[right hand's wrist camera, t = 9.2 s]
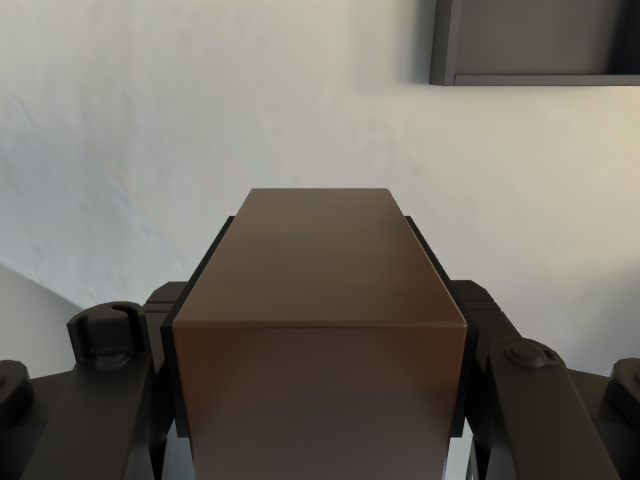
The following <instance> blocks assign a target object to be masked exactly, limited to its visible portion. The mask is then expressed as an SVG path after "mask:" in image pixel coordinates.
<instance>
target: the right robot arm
mask: <svg viewBox="0 0 640 480" xmlns="http://www.w3.org/2000/svg"><path fill="white" fill-rule="evenodd" d="M404 217H405V218H406V220H407V222H408V223H409V225H410V227H411V229H412V230H413V232H414V234H415V235H416V237H417V239H418V240H419V242H420V244H421V246H422V247H423V249H424V251H425V252H426V254H427V256H428V257H429V259H430V261H431V263H432V264H433V266H434V268H435V269H436V271H437V273H438V274H439V276H440V278H441V280H442V281H443V283H444V285H445V286H446V288H447V290H448V291H449V293H450V295H451V297H452V298H453V300H454V302H455V303H456V305H457V307H458V308H459V310H460V312H461V314H462V315H463V317H464V319H465V320H466V322H467V325H468V326H467V332H466V339H465V345H464V352H463V359H462V365H461V372H460V378H459V385H458V391H457V398H456V405H455V411H454V418H453V424H452V431H451V438H462V434H463V428H464V422H465V416H466V419H467V421H468V423H469V426H470V428H471V431H472V433H473V439H472V444H471V450H470V455H469V461H468V467H467V472H466V479H465V480H471V479H472V474H473V480H640V359H639V358H627V359H621V360H619V361H618V362H617V363H615V364H614V366H613V369H612V372H611V375H610V377H605V376H600V375H595V374H590V373H585V372H580V371H576V370H572V369H568V368H567V367H566V365H565V363H564V361H563V360H562V359H561V358H560V356H559V355H558V354H557V353H556V352H555V351H553V350H552V349H550V348H549V347H547V346H546V345H544V344H541V343H539V342H536V341H534V340H531V339H526V338H522V336H521V335H520V334H519V332H518V331H517V330H516V328H515V327H514V326H513V324H512V323H511V322H510V321H509V319H508V318H507V317H506V315H505V314H504V313H503V311H501V309H500V307H499V306H498V305H497V304H496V302H494V300H493V298H492V297H491V296H490V294H489V293H488V292H487V290H486V289H484V288H483V287H481V286H479V285H478V284H476V283H475V282H473V281H471V280H450V279H449V277H448V275H447V274H446V272H445V271H444V269H443V267H442V266H441V264H440V263H439V261H438V259H437V258H436V256H435V255H434V253H433V252H432V250H431V248H430V247H429V245H428V244H427V242H426V240H425V239H424V237H423V236H422V234H421V232H420V231H419V229H418V228H417V226H416V225H415V223H414V221H413V220H412V218H411V217H410V216H404ZM234 218H235V216H229V218H228V219H227V221H226V222H225V224H224V226H223V227H222V229H221V230H220V232H219V234H218V235H217V237H216V238H215V240H214V242H213V243H212V245H211V246H210V248H209V249H208V251H207V253H206V254H205V256H204V257H203V259H202V261H201V262H200V264H199V265H198V267H197V269H196V270H195V272H194V273H193V275H192V276H191V278H190V280H189V281H188V282H167V283H166V284H164V285H163V286H161V287H160V288H158V289H156V290H155V291H154V292H153V293H152V294H151V296H150V297H149V298H148V300H147V301H146V304H144V305H143V306H140V305H139V304H137V303H133V302H128V301H118V302H109V303H104V304H99V305H97V306H94V307H91V308H88V309H85V310H84V311H82V312H80V313H79V314H77V315H75V316H74V317H73V318H72V319H71V320H70V321H69V322H68V323H67V328H68V332H69V336H70V340H71V344H72V347H73V351H74V355H75V359H76V364H75V366H74V368H73V370H71V371H68V372H64V373H59V374H54V375H49V376H44V377H39V378H34V379H30V377H29V373H28V370H27V367H26V366H25V365H24V364H22V363H21V362H19V361H13V360H2V361H0V480H167V475H168V466H169V458H170V451H169V444H168V439H167V434H168V432H169V430H170V427H171V425H172V423H173V420H174V418H175V423H176V430H177V436H178V438H183V437H184V438H189V434H188V427H187V421H186V414H185V408H184V401H183V395H182V388H181V382H180V375H179V368H178V362H177V355H176V349H175V342H174V336H173V329H172V324H173V321H174V319H175V318H176V316H177V314H178V313H179V311H180V309H181V308H182V306H183V304H184V303H185V301H186V299H187V297H188V296H189V294H190V292H191V291H192V289H193V287H194V286H195V284H196V282H197V281H198V279H199V277H200V275H201V274H202V272H203V270H204V269H205V267H206V265H207V264H208V262H209V260H210V259H211V257H212V255H213V253H214V252H215V250H216V248H217V247H218V245H219V243H220V242H221V240H222V238H223V237H224V235H225V233H226V232H227V230H228V228H229V226H230V225H231V223H232V221H233V220H234Z"/></svg>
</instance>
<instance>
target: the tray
mask: <svg viewBox="0 0 640 480" xmlns="http://www.w3.org/2000/svg"><path fill="white" fill-rule="evenodd" d="M429 84H430V85H439V86H640V0H437V3H436V14H435V25H434V37H433V48H432V59H431V70H430V81H429Z"/></svg>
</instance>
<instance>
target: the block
mask: <svg viewBox="0 0 640 480" xmlns="http://www.w3.org/2000/svg"><path fill="white" fill-rule="evenodd" d="M467 326H468V325H467V322H466V320H465V319H464V317H463V315H462V314H461V312H460V310H459V308H458V307H457V305H456V303H455V302H454V300H453V298H452V297H451V295H450V293H449V291H448V290H447V288H446V286H445V285H444V283H443V281H442V280H441V278H440V276H439V274H438V273H437V271H436V269H435V268H434V266H433V264H432V263H431V261H430V259H429V257H428V256H427V254H426V252H425V251H424V249H423V247H422V246H421V244H420V242H419V240H418V239H417V237H416V235H415V234H414V232H413V230H412V229H411V227H410V225H409V223H408V222H407V220H406V218H405V217H404V215H403V213H402V212H401V210H400V208H399V206H398V205H397V203H396V201H395V200H394V198H393V196H392V195H391V193H390V191H389V189H371V188H253V189H251V191H250V193H249V194H248V196H247V198H246V199H245V201H244V203H243V204H242V206H241V208H240V210H239V211H238V213H237V215H236V216H235V218H234V220H233V221H232V223H231V225H230V226H229V228H228V230H227V232H226V233H225V235H224V237H223V238H222V240H221V242H220V243H219V245H218V247H217V248H216V250H215V252H214V253H213V255H212V257H211V259H210V260H209V262H208V264H207V265H206V267H205V269H204V270H203V272H202V274H201V275H200V277H199V279H198V281H197V282H196V284H195V286H194V287H193V289H192V291H191V292H190V294H189V296H188V297H187V299H186V301H185V303H184V304H183V306H182V308H181V309H180V311H179V313H178V314H177V316H176V318H175V319H174V321H173V324H172V329H173V336H174V342H175V349H176V355H177V362H178V368H179V375H180V382H181V388H182V395H183V401H184V408H185V414H186V421H187V427H188V434H189V440H190V447H191V454H192V460H193V467H194V473H195V480H444V477H445V471H446V464H447V457H448V451H449V444H450V438H451V431H452V424H453V418H454V411H455V405H456V398H457V391H458V385H459V378H460V372H461V365H462V359H463V352H464V345H465V339H466V332H467Z"/></svg>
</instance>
